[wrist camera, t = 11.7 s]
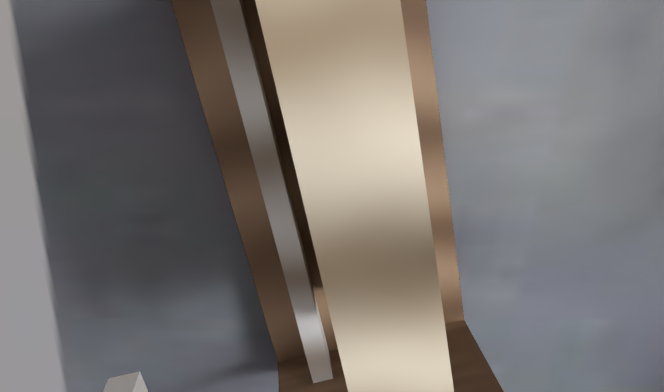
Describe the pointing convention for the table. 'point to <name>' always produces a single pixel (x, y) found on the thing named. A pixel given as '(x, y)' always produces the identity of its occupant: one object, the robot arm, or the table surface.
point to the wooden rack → (285, 196)
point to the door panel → (362, 185)
